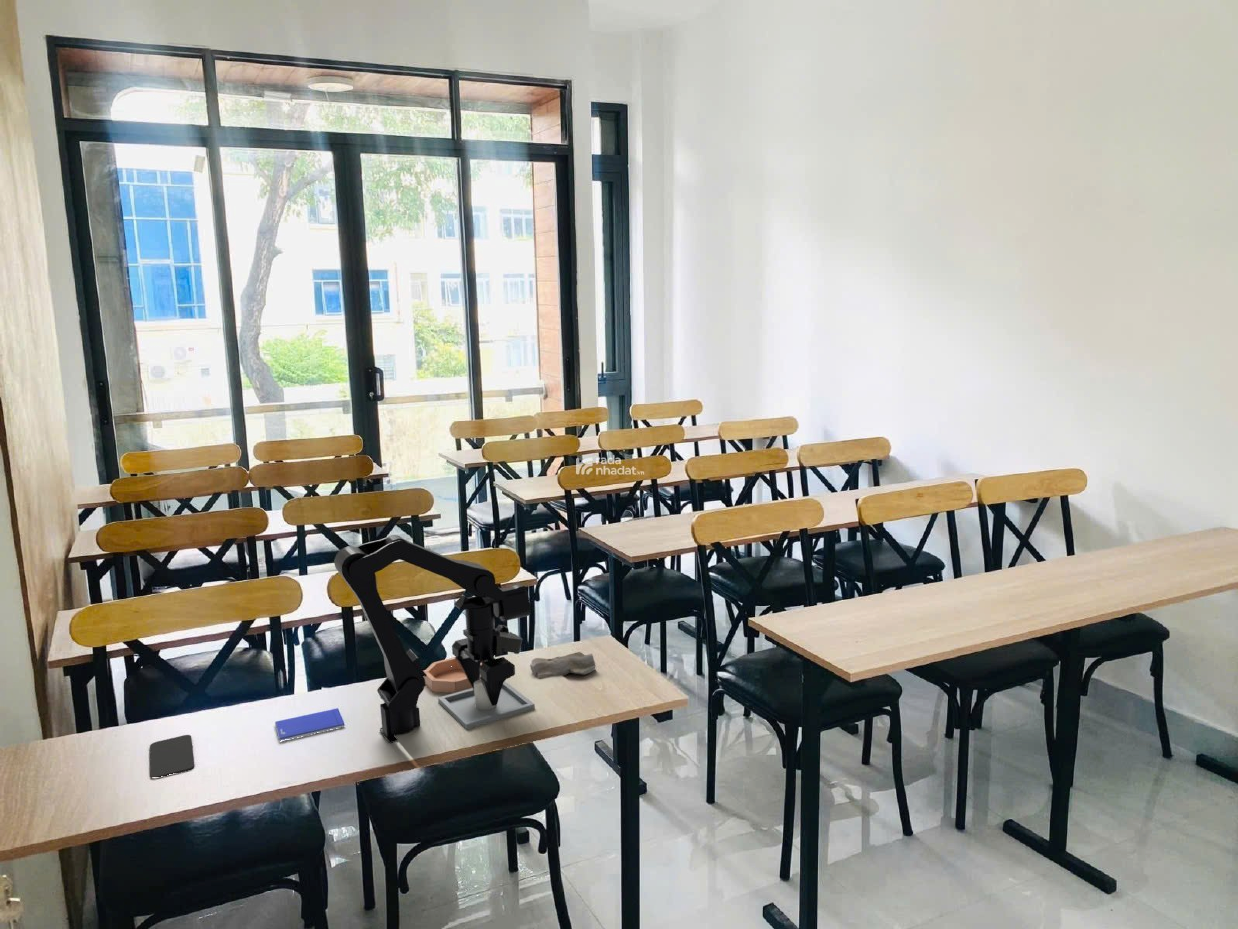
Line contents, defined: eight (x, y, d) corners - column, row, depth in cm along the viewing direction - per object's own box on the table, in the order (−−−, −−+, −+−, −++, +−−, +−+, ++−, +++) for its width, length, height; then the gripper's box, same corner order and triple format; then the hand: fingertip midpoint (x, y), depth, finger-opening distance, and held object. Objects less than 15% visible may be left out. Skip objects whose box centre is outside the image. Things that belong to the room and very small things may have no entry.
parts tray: (467, 734, 171) (466, 724, 171) (438, 706, 184) (438, 697, 183) (535, 713, 179) (534, 704, 179) (503, 688, 191) (502, 679, 191)
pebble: (480, 712, 178) (479, 689, 177) (471, 704, 182) (470, 681, 181) (500, 706, 180) (498, 683, 180) (491, 698, 184) (489, 676, 183)
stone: (533, 686, 193) (532, 668, 192) (527, 669, 202) (526, 652, 201) (598, 677, 196) (598, 660, 195) (590, 661, 205) (589, 645, 205)
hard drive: (279, 737, 170) (344, 722, 176) (274, 720, 177) (337, 707, 183) (279, 745, 170) (345, 730, 176) (275, 728, 178) (338, 714, 183)
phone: (149, 778, 158) (149, 743, 171) (150, 782, 158) (149, 747, 171) (194, 767, 161) (191, 733, 174) (195, 771, 161) (191, 737, 174)
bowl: (439, 702, 186) (438, 686, 185) (418, 681, 197) (417, 666, 196) (495, 686, 193) (494, 671, 192) (471, 667, 203) (470, 653, 203)
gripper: (536, 629, 175) (540, 702, 177) (497, 605, 190) (501, 672, 193) (485, 642, 169) (490, 718, 171) (448, 616, 184) (453, 685, 187)
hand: (485, 697), depth 181 cm, fingers open, 9 cm apart
